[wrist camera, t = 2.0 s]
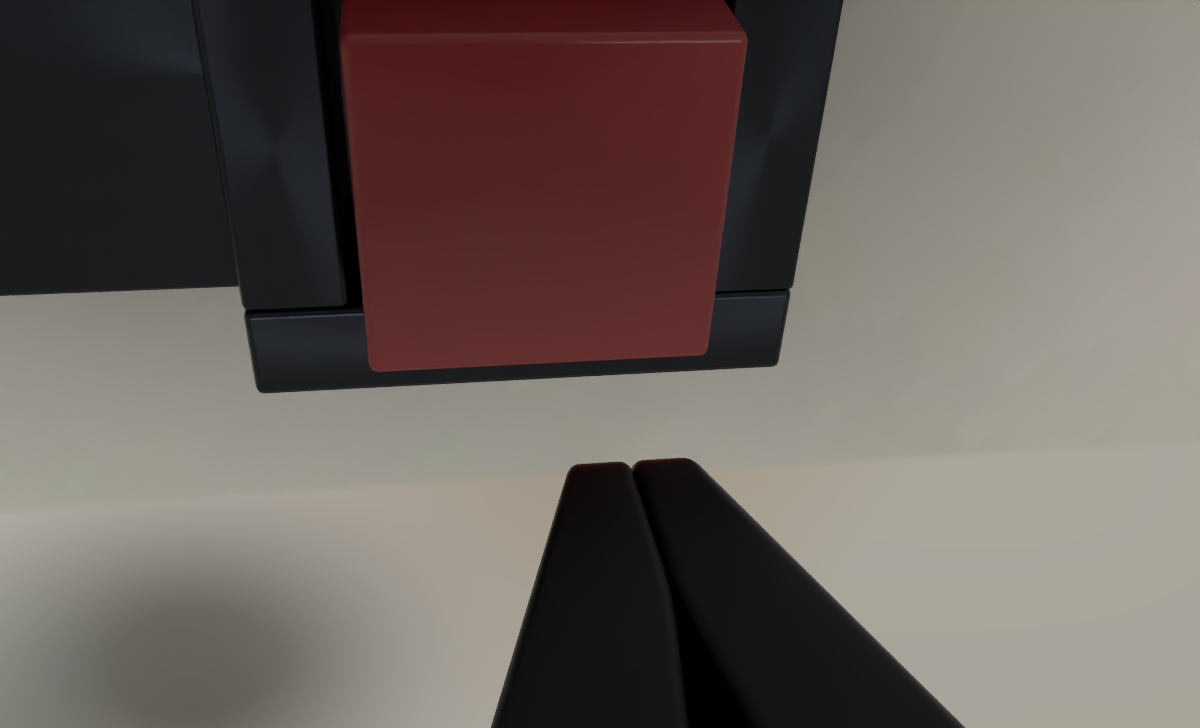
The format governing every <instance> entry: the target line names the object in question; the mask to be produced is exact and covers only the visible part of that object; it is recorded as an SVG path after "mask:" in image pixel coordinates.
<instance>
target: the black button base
mask: <svg viewBox="0 0 1200 728" xmlns="http://www.w3.org/2000/svg"><path fill="white" fill-rule="evenodd" d="M724 1H725V3H726V4H727V6H728V7H729V9H730V10H731V12H732V13H733V15H734V16H735V18H736V19H737V21H738V22H739V24H740V25H741V27H742V28H743V30H744V31H745V33H746V36H747V40H748V41H747V49H746V57H745V64H744V72H743V80H742V88H741V95H740V103H739V111H738V119H737V126H736V134H735V142H734V150H733V157H732V165H731V173H730V180H729V188H728V196H727V204H726V211H725V219H724V227H723V235H722V242H721V250H720V258H719V266H718V273H717V281H716V289H715V297H714V304H713V312H712V320H711V327H710V335H709V343H708V348H707V351H706V353H705V354H702V355H698V356H679V357H659V358H639V359H620V360H600V361H580V362H561V363H541V364H521V365H502V366H482V367H462V368H443V369H423V370H403V371H384V372H377V371H373V370H372V368H371V367H370V365H369V363H368V354H367V344H366V333H365V322H364V311H363V300H362V289H361V278H360V268H359V257H358V246H357V235H356V224H355V213H354V202H353V191H352V181H351V170H350V159H349V148H348V137H347V126H346V115H345V105H344V94H343V83H342V72H341V61H340V50H339V37H340V25H341V14H342V2H343V0H0V296H8V295H34V294H59V293H85V292H110V291H135V290H161V289H186V288H211V287H237V286H239V290H240V295H241V301H242V304H243V306H244V308H245V314H244V319H245V325H246V331H247V337H248V343H249V349H250V355H251V361H252V366H253V372H254V378H255V384H256V387H257V389H258V391H259V392H261V393H280V392H299V391H318V390H336V389H355V388H374V387H393V386H412V385H431V384H450V383H469V382H488V381H507V380H526V379H545V378H564V377H583V376H602V375H621V374H640V373H658V372H677V371H696V370H715V369H734V368H753V367H772V366H775V365H777V363H778V360H779V355H780V349H781V344H782V338H783V332H784V327H785V321H786V315H787V310H788V304H789V298H790V290H789V289H790V288H792V286H793V282H794V276H795V270H796V265H797V259H798V253H799V248H800V242H801V236H802V231H803V225H804V219H805V214H806V208H807V203H808V197H809V191H810V186H811V180H812V174H813V169H814V163H815V157H816V152H817V146H818V140H819V135H820V129H821V124H822V118H823V112H824V107H825V101H826V95H827V90H828V84H829V78H830V73H831V67H832V61H833V56H834V50H835V45H836V39H837V33H838V28H839V22H840V16H841V11H842V5H843V0H724Z"/></svg>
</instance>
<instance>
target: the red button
mask: <svg viewBox="0 0 1200 728" xmlns="http://www.w3.org/2000/svg"><path fill="white" fill-rule="evenodd" d="M747 41H748V40H747V36H746V33H745V31H744V30H743V28H742V27H741V25H740V24H739V22H738V21H737V19H736V18H735V16H734V15H733V13H732V12H731V10H730V9H729V7H728V6H727V4H726V3H725V1H724V0H343V2H342V14H341V25H340V37H339V50H340V61H341V72H342V83H343V94H344V105H345V115H346V126H347V137H348V148H349V159H350V170H351V181H352V191H353V202H354V213H355V224H356V235H357V246H358V257H359V268H360V278H361V289H362V300H363V311H364V322H365V333H366V344H367V354H368V363H369V365H370V367H371V368H372V370H373V371H377V372H384V371H403V370H423V369H443V368H462V367H482V366H502V365H521V364H541V363H561V362H580V361H600V360H620V359H639V358H659V357H679V356H698V355H702V354H705V353H706V351H707V348H708V343H709V335H710V327H711V320H712V312H713V304H714V297H715V289H716V281H717V273H718V266H719V258H720V250H721V242H722V235H723V227H724V219H725V211H726V204H727V196H728V188H729V180H730V173H731V165H732V157H733V150H734V142H735V134H736V126H737V119H738V111H739V103H740V95H741V88H742V80H743V72H744V64H745V57H746V49H747Z"/></svg>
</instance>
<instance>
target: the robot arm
mask: <svg viewBox="0 0 1200 728" xmlns="http://www.w3.org/2000/svg"><path fill="white" fill-rule="evenodd" d="M491 728H965V727H964V726H963V725H962V724H961V723H960V722H959V721H958V720H957V719H956V718H955V717H954V716H953V715H952V714H951V713H950V712H949V711H948V710H947V709H946V708H945V707H944V706H943V705H942V704H941V703H940V702H939V701H938V700H937V699H936V698H935V697H934V696H932V694H930V693H929V692H928V691H927V690H926V689H925V688H924V687H923V686H922V685H921V684H920V683H919V682H918V681H917V680H916V679H915V678H914V677H913V676H912V675H911V674H910V673H909V672H908V671H907V670H906V669H905V668H904V667H903V666H902V665H901V664H900V663H899V662H898V661H897V660H896V659H895V658H894V657H893V656H892V655H891V654H890V653H889V652H888V651H887V650H886V649H885V648H884V647H883V646H882V645H881V644H880V643H879V642H878V641H877V640H876V639H875V638H874V637H873V636H872V635H871V634H870V633H869V632H868V631H867V630H866V629H865V628H863V626H862V625H861V624H860V623H859V622H858V621H857V620H856V619H855V618H853V616H851V615H850V614H849V613H848V612H847V611H846V610H845V609H844V608H843V607H842V606H841V605H840V604H839V603H838V602H837V601H836V600H835V599H834V598H833V597H832V596H831V595H830V594H829V593H828V592H827V591H826V590H825V589H824V588H823V587H822V586H821V585H820V584H819V583H818V582H817V581H816V580H815V579H814V578H813V577H812V576H811V575H810V574H809V573H808V572H807V571H806V570H805V569H804V568H803V567H802V566H801V565H800V564H799V563H798V562H797V561H796V560H795V559H794V558H793V557H792V556H791V555H789V553H788V552H787V551H786V550H785V549H783V547H782V546H781V545H780V544H779V543H778V542H776V540H774V538H772V537H771V536H770V535H769V534H768V533H767V532H766V531H765V530H764V529H763V528H762V527H761V526H760V525H759V524H758V523H757V522H756V521H755V520H754V519H753V518H752V517H751V516H750V515H749V514H748V513H747V512H746V511H745V510H744V509H743V508H742V507H741V506H740V505H739V504H738V503H737V502H736V501H735V500H734V499H733V498H732V497H731V496H730V495H729V494H728V493H727V492H726V491H725V490H724V489H723V488H722V487H721V486H720V485H719V484H717V482H715V480H714V479H713V478H712V477H710V475H709V474H708V473H707V472H706V471H705V470H704V469H703V468H702V467H701V466H700V465H698V464H697V463H696V462H694V461H692V460H690V459H687V458H673V459H656V460H642V461H638V462H637V463H636V464H634V465H633V467H632V468H630V467H629V466H628V465H627V464H625V463H624V462H608V463H592V464H578V465H575V466H573V467H571V469H570V470H569V471H568V473H567V476H566V479H565V483H564V486H563V490H562V493H561V496H560V499H559V503H558V506H557V509H556V513H555V516H554V519H553V523H552V527H551V529H550V533H549V536H548V540H547V543H546V546H545V550H544V553H543V556H542V559H541V563H540V566H539V569H538V573H537V576H536V579H535V583H534V586H533V589H532V593H531V596H530V599H529V603H528V606H527V609H526V613H525V616H524V619H523V623H522V626H521V629H520V633H519V636H518V639H517V642H516V646H515V649H514V653H513V656H512V659H511V662H510V666H509V669H508V672H507V676H506V679H505V682H504V686H503V689H502V692H501V696H500V699H499V702H498V706H497V709H496V712H495V716H494V719H493V722H492V726H491Z"/></svg>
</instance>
